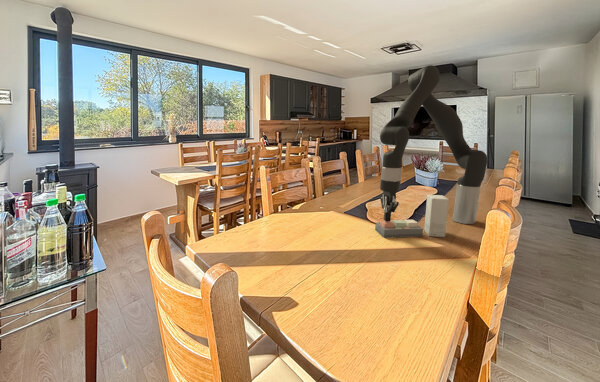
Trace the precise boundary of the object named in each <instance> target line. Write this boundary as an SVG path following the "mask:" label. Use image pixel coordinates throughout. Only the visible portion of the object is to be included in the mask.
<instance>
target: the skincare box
mask: <svg viewBox="0 0 600 382" xmlns="http://www.w3.org/2000/svg"><path fill="white" fill-rule="evenodd" d="M449 202H450V199H449V198H448V197H446V196H444V195H441V194H427V196H426V205H425V216H424V217H425V219H424V228H423V230H424V231H425V233H426V234H427V236H428V237H436V238H446V232H447V231H446V230H447V221H448V212H449Z"/></svg>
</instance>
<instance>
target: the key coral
mask: <svg viewBox="0 0 600 382" xmlns="http://www.w3.org/2000/svg"><path fill="white" fill-rule="evenodd" d="M379 222H380V225H381V226H382V227H383V228H394V223H393V222H392V220H390V221H385V220H384V219H382V220H380V221H379Z"/></svg>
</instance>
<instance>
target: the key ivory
mask: <svg viewBox="0 0 600 382" xmlns="http://www.w3.org/2000/svg"><path fill="white" fill-rule="evenodd" d="M403 221H404V222H405V223H406V226H407V227H417V226H419V225H418V223H419V222H418V221H416V220H414V219H403Z"/></svg>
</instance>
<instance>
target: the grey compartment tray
mask: <svg viewBox="0 0 600 382" xmlns="http://www.w3.org/2000/svg"><path fill="white" fill-rule="evenodd" d="M380 222H381V221H379V222H377V221H376V222H375V229H374V230H375V231H376V232H377V233H378V234H379V235H380V237H382V238H383V237H384V238H383V239H388V237H389V239H390V237H395V238H418V237H423V233H424V231H423V230H424V228H422V227H421V226H419V225H418V226H417V227H407V226H406V227H397V228H396V227H394V228H383V227H382V226H381V225H380Z"/></svg>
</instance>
